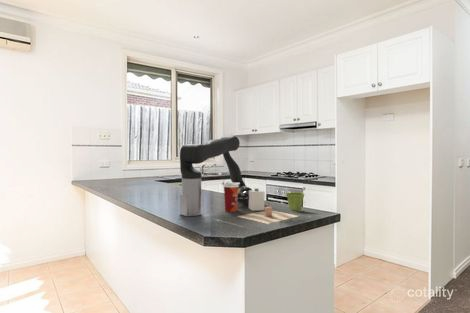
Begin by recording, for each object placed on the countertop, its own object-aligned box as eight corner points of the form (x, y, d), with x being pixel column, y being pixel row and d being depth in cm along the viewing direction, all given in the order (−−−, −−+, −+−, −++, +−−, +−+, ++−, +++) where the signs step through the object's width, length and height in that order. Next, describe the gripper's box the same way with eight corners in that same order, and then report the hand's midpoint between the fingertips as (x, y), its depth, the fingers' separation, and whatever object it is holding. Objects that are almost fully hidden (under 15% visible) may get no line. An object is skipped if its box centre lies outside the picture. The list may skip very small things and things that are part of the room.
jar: (268, 217, 126) (268, 208, 126) (263, 216, 129) (263, 207, 129) (273, 216, 128) (273, 207, 128) (268, 215, 131) (268, 206, 131)
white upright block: (252, 212, 141) (252, 189, 141) (248, 209, 147) (248, 188, 147) (264, 211, 143) (264, 189, 142) (260, 209, 149) (260, 187, 149)
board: (267, 225, 114) (267, 223, 114) (237, 218, 128) (237, 216, 128) (299, 217, 129) (299, 215, 129) (269, 211, 143) (269, 210, 143)
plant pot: (297, 213, 139) (297, 195, 139) (282, 210, 146) (282, 193, 146) (308, 210, 145) (308, 193, 145) (293, 208, 152) (293, 191, 152)
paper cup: (237, 213, 137) (237, 184, 137) (221, 213, 138) (221, 184, 138) (240, 210, 144) (240, 183, 144) (225, 210, 146) (225, 182, 146)
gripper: (233, 186, 165) (239, 190, 149) (256, 186, 168) (265, 189, 152) (233, 199, 165) (239, 204, 149) (256, 199, 168) (265, 203, 153)
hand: (252, 197), depth 151 cm, fingers open, 8 cm apart
